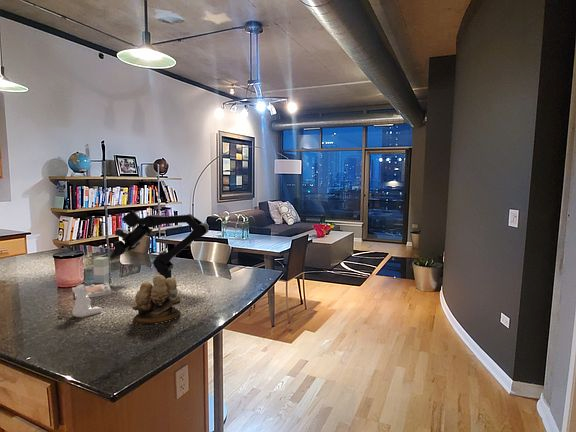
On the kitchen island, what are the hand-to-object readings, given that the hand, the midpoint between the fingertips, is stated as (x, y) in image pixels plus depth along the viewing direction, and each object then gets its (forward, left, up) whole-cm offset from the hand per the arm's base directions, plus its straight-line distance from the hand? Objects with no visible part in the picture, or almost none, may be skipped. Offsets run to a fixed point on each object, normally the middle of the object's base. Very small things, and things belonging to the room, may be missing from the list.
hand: (115, 255), depth 176 cm
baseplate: (-9, +14, -13) cm, 21 cm away
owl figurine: (-57, +6, -14) cm, 59 cm away
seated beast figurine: (-35, +25, -14) cm, 45 cm away
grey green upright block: (+5, +5, -13) cm, 15 cm away
